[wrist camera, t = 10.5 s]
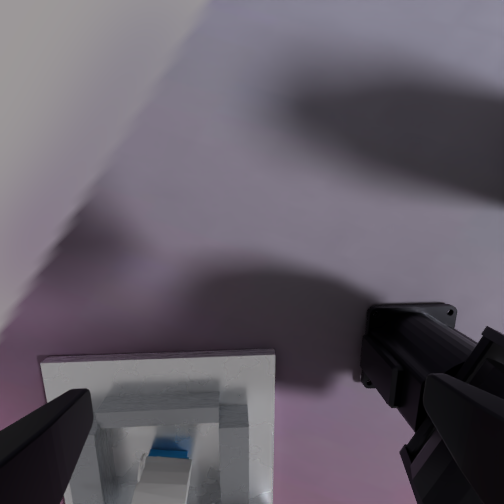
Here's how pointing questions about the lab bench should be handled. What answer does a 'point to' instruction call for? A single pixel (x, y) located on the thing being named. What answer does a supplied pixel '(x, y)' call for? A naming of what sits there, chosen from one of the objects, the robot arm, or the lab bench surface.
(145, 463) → the electric motor
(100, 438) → the grey metal assembly fixture
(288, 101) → the lab bench surface
